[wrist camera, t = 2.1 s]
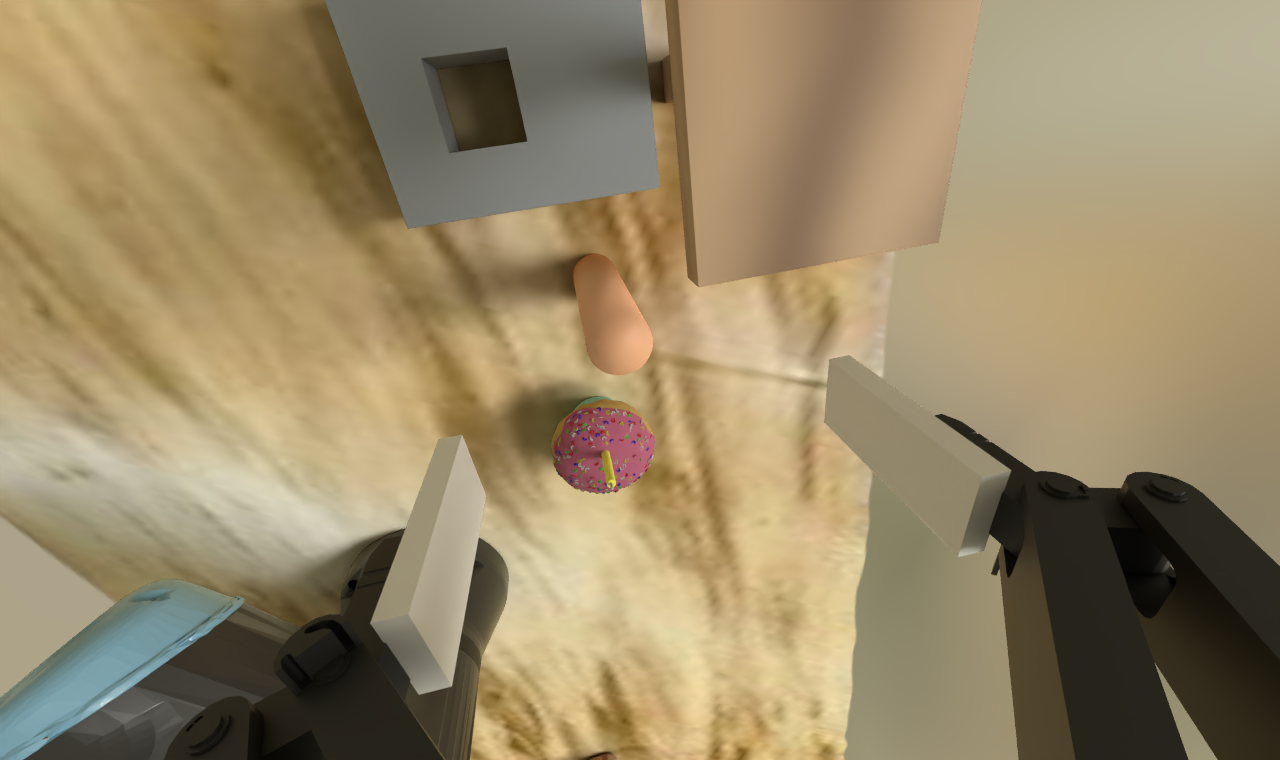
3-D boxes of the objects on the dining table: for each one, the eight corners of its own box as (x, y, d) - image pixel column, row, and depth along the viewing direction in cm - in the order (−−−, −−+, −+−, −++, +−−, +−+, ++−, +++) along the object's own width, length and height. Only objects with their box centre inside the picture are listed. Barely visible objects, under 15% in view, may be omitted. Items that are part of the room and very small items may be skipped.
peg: (577, 300, 36) (593, 380, 24) (568, 258, 34) (581, 320, 22) (619, 293, 36) (656, 367, 24) (612, 250, 35) (648, 307, 22)
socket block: (423, 219, 31) (407, 228, 28) (347, -1, 26) (316, -24, 22) (648, 183, 33) (659, 187, 29) (623, -32, 27) (635, -58, 24)
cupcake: (541, 387, 39) (540, 476, 28) (638, 369, 40) (671, 449, 29) (561, 465, 43) (566, 569, 32) (648, 447, 44) (681, 542, 33)
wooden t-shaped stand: (609, 204, 33) (698, 287, 14) (570, -49, 27) (636, -577, 7) (714, 187, 34) (938, 242, 15) (702, -63, 27) (1085, -574, 8)
